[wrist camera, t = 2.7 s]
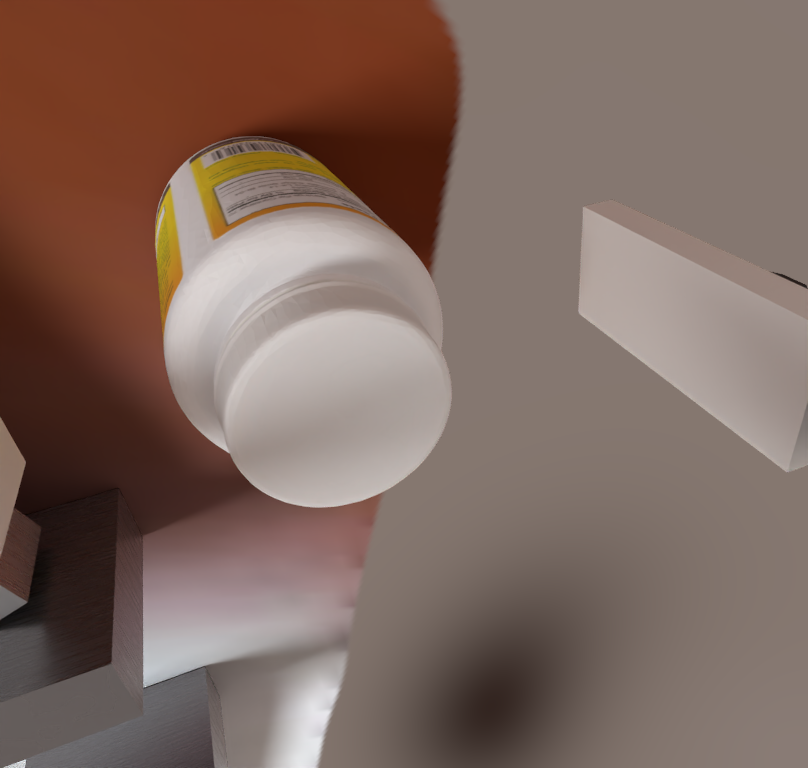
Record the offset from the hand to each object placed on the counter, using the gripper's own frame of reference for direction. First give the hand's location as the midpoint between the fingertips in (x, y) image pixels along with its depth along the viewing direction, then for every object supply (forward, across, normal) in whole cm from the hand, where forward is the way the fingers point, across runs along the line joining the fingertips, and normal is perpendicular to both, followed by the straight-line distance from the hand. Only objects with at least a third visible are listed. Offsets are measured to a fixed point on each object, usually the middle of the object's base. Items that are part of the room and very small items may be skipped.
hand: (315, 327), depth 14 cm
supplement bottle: (+7, 0, 0) cm, 7 cm away
